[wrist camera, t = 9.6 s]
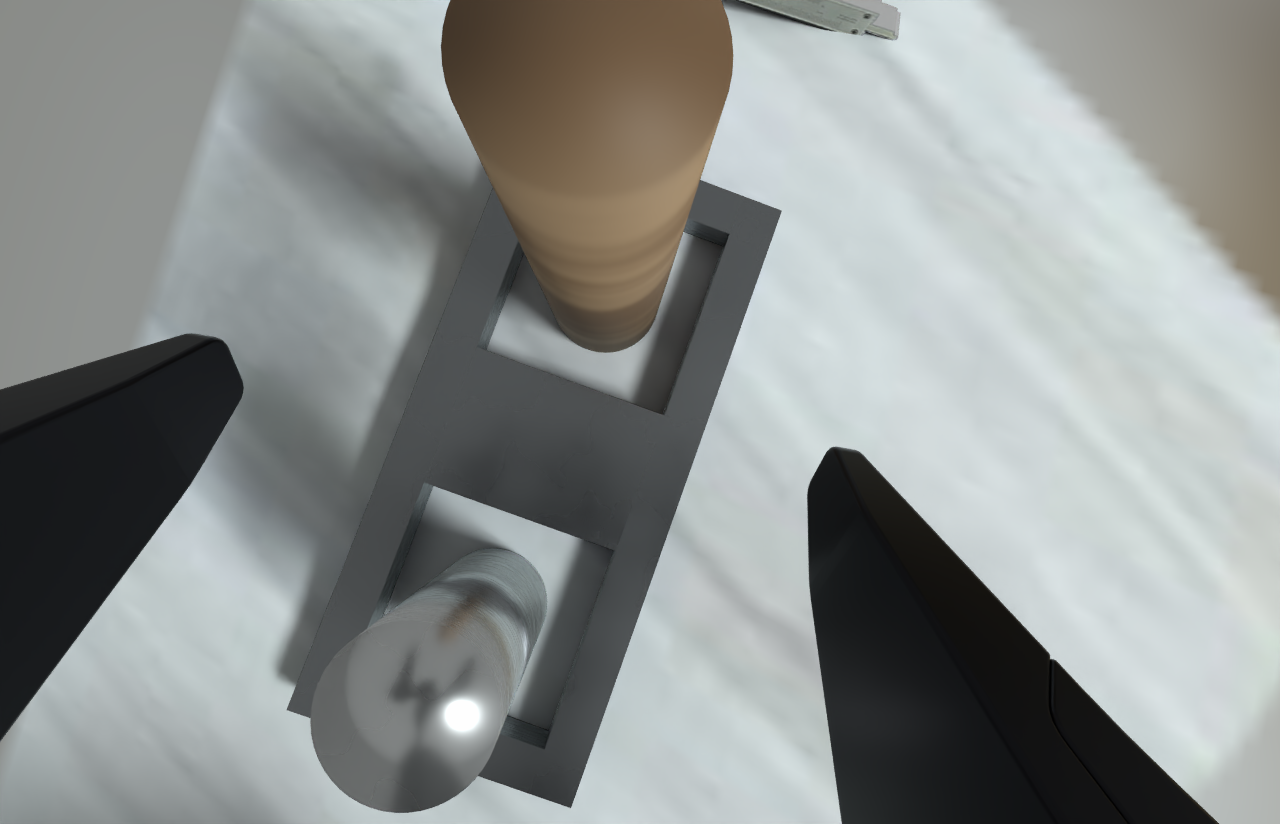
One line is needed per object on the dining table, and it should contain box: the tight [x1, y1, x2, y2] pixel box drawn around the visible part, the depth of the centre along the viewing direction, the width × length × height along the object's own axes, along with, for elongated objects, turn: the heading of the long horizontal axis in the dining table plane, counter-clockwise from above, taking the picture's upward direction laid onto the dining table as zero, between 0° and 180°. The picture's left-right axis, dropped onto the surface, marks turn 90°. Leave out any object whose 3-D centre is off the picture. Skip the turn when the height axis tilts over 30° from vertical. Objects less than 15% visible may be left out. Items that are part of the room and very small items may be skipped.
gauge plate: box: [287, 180, 781, 808], centre depth 19 cm, size 22×10×1 cm, turn 160°
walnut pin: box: [441, 0, 733, 353], centre depth 14 cm, size 4×4×13 cm
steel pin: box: [311, 548, 547, 813], centre depth 16 cm, size 4×4×8 cm
